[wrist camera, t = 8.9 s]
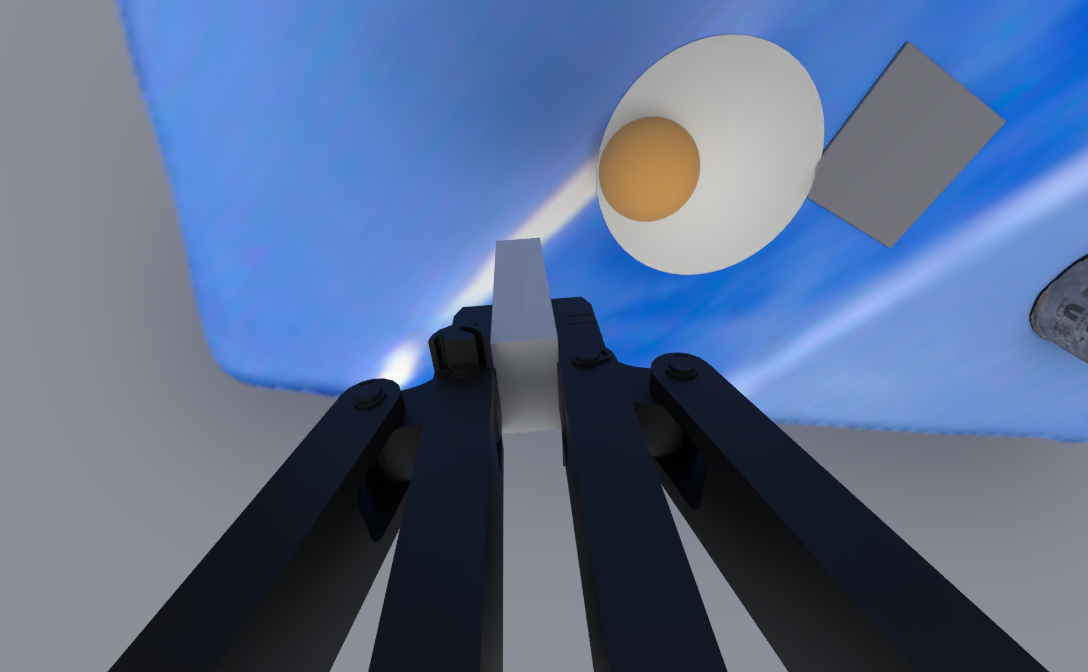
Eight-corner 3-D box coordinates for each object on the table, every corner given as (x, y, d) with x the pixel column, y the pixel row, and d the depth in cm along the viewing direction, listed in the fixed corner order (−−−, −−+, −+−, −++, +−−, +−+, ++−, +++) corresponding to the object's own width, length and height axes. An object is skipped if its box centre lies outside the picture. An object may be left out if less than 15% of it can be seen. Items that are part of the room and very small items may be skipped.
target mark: (782, -28, 24) (784, -29, 23) (846, 199, 30) (848, 200, 30) (553, 134, 27) (553, 135, 27) (655, 308, 33) (656, 309, 33)
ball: (593, 108, 23) (640, 99, 27) (571, 211, 26) (615, 190, 30) (695, 143, 21) (730, 128, 25) (657, 249, 24) (692, 221, 28)
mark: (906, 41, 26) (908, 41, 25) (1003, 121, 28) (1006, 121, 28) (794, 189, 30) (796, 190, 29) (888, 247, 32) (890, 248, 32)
